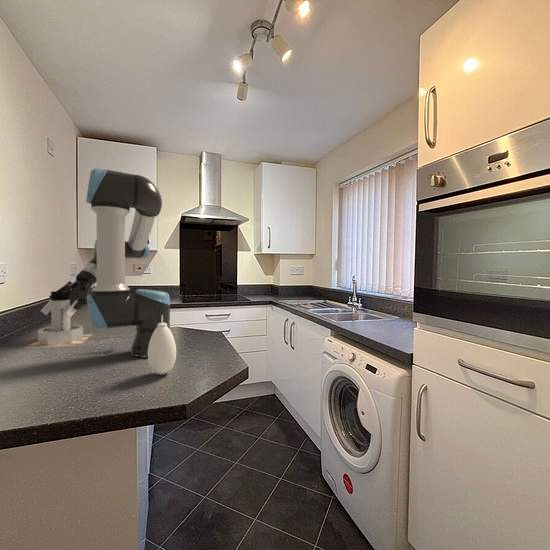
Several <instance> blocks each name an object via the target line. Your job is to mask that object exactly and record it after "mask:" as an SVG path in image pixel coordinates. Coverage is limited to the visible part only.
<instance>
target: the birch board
mask: <svg viewBox="0 0 550 550" xmlns="http://www.w3.org/2000/svg"><path fill="white" fill-rule="evenodd" d="M93 335H94V333H93V334H83V339H82V340H80V341H77V342H74V343H69V344H62V345H49V346H47V345H40V344H39V343H38V340H37V341H35V342H32V343H30V344H28V345H26V346H24V347H23V349H32V348H51V347H66V346H68V347H69V346H70V347H71V346H80V345H81V344H83V343H84V342H85V341H87V340H88V339H89V338H90V337H92V336H93Z"/></svg>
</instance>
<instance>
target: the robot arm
mask: <svg viewBox="0 0 550 550" xmlns="http://www.w3.org/2000/svg"><path fill="white" fill-rule="evenodd" d="M85 202H86V203H87V204H90V205H91V206H90V209H91V211H93V212H94V213H95V215H96V239H95V243H94V251H93V257H92V258H91V259H90V261H89V262H88V263H86V265H85V266H84V267H83V268H82V269H81V271H79V273H78V274H77V275H76V276H75V281H74V282H72V281H68V282H67V283H66V284H64V285H63V286H61V287H60V288H59V289H57V290H56V292H65V293H70V295H74V294H76V293H77V294H78V296H77V298H76V299H75V300H74V302H73V303H72V304H70V308H69V309H68V310H67V311H66V312H65V314H66V315H67V316H69V317H70V318H71V317H73V316H74V315H75V313H76V312H77V311H78V310H79V309H80V307H82V306H83V305H84V304H85V303H86V304H87V308H88V313H89V314H88V316H89V320H90V326H91V327H92V328H93V329H96V330H100V329H101V330H103V329H107V330H108V329H116V328H126V327H136V328H135V329H136V330H135V331H136V332H135V335H134V338H133V341H132V343H131V347H130V355H131V354H133V355H138V356H148V346H149V342H150V339H151V336H152V334H153V332H154V330H155V329H156V328H157V327H158V326H157V325H158V324H159V323H161V318H162V315H163V323H166V324H167V327H168V328H169V329H170V330H171V328H170V327H171V326H170V324H171V315H170V314H171V313H170V312H171V300H170V299H171V298H170V295H169V293H168V292H166V291H161V290H155V289H154V290H153V289H139V288H138V289H136V291H135V293H131V290H130V289H131V288H130V287H129V286H127V284H126V259H147V258H149V256H150V250H151V249H150V244H149V243H148V240H149V239H150V238H149V237H150V235H151V231H152V228H153V226H154V223H155V219H156V217H157V216H159V214H160V213H161V210H162V207H163V199H162V195H161V193H160V191H159V189H158V187H157V186H156V185H155V183H153V182H152V181H151V180H150V179H149V178H147V177H145V176H142V175H139V174H131V173H126V172H121V171H115V170H110V169H101V168H93V169H92V170H91V171H90V173H89V179H88V185H87V193H86V198H85ZM130 208H131V209H134V210H135V211H134V216H133V219H132V225H131V229H130V233H129V237H128V240H127V241H126V227H125V226H126V216H128V215H129V213H130V212H131V209H130ZM95 284H96V285H95ZM48 297H49V298H50V299H49V301H48V302H47V303H46V304H45V305H44V306H43V307H42V309H41V310H40V312H41V313H42V314H44V316H47V315H48V314H49V313H50V312H51V302H52V301H51V299H52V298H51V294H50V295H49V296H48Z"/></svg>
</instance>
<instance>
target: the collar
mask: <svg viewBox="0 0 550 550" xmlns="http://www.w3.org/2000/svg"><path fill="white" fill-rule="evenodd" d="M83 335H84V326H83V325H81V324H79V325H78V324H70V330H67V331H59V332H51V326H47V327H42V328H41V329H38V330H37V341H38V343H39V344H40V345H47V346H49V345H62V344H69V343H74V342H77V341H80V340H82V339H83Z"/></svg>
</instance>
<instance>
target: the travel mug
mask: <svg viewBox="0 0 550 550" xmlns="http://www.w3.org/2000/svg"><path fill="white" fill-rule="evenodd" d="M56 291H57V290H56ZM56 291H54V290H53V291H50V295H51V298H52V299H51V298H50V300H51V301H52V302H51V311H50V312H51V313H50V314H51V315H50V318H51V320H50V321H51V322H50V323H51V325H50V327H51V332H59V331H67V330H70V325H71V317H69V316H67V315H66V314H65V312H66V311H67V310H68V309H69V308H70V306H71V294H70V293H65V292H56Z"/></svg>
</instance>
